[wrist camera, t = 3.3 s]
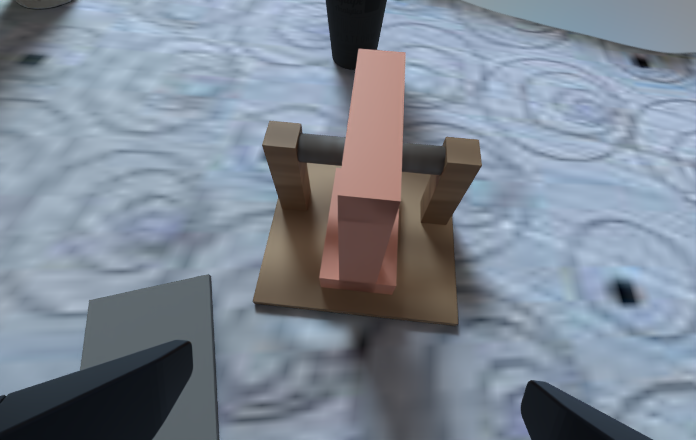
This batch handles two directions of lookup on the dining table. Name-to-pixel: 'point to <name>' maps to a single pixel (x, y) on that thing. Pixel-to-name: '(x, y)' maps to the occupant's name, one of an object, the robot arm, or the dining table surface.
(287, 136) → the stand
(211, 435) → the mat
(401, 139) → the c link
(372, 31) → the drinking cup
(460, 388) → the dining table surface
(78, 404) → the robot arm
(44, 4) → the thermos bottle
